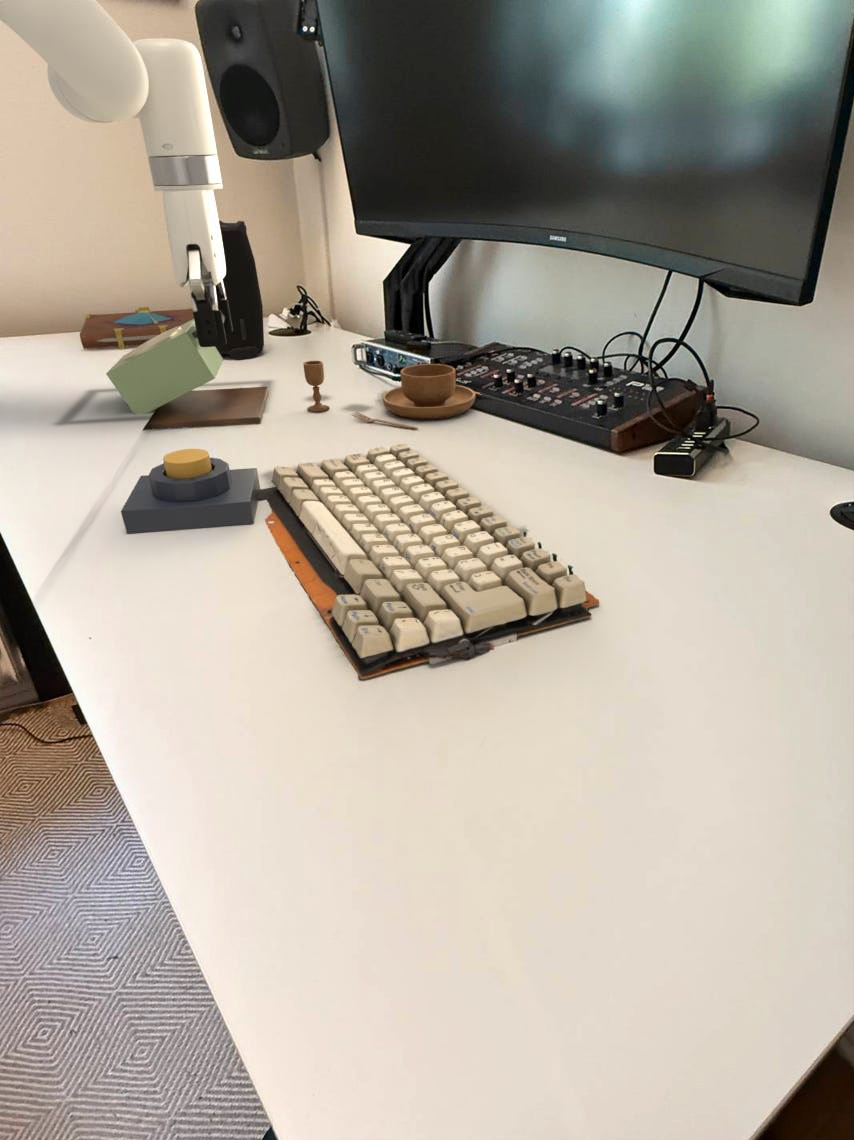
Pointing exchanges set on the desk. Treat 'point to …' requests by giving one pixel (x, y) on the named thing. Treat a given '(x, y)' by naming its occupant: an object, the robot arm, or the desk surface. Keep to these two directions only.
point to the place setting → (409, 393)
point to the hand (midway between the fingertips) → (216, 338)
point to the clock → (164, 368)
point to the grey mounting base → (192, 500)
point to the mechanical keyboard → (412, 561)
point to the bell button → (187, 463)
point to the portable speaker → (241, 294)
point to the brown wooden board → (211, 408)
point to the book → (130, 327)
